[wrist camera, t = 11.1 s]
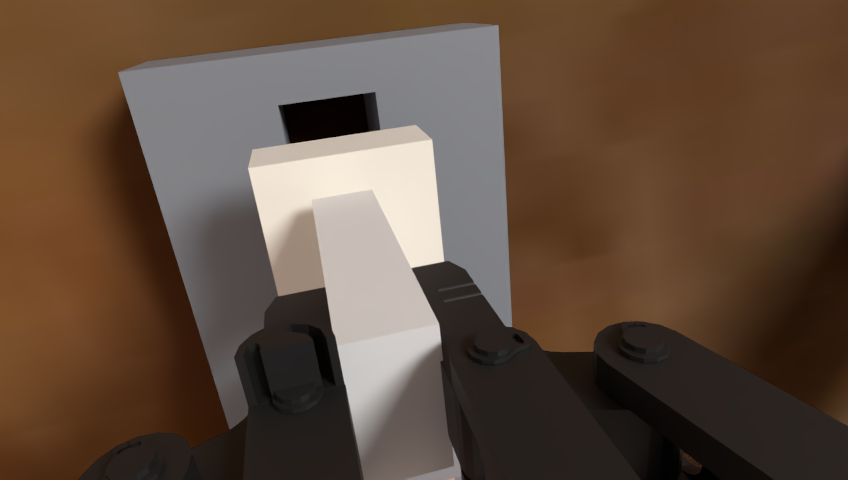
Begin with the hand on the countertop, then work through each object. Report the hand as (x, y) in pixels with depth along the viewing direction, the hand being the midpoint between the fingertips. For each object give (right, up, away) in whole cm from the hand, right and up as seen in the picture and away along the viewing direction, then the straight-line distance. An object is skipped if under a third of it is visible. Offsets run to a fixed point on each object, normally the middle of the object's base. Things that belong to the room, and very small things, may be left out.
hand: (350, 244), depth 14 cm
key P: (-1, +2, +6) cm, 7 cm away
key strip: (-1, -6, +13) cm, 14 cm away
